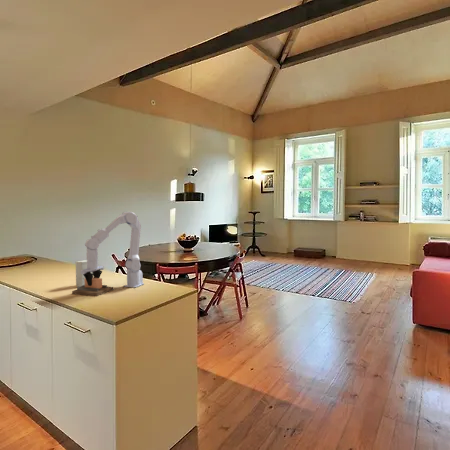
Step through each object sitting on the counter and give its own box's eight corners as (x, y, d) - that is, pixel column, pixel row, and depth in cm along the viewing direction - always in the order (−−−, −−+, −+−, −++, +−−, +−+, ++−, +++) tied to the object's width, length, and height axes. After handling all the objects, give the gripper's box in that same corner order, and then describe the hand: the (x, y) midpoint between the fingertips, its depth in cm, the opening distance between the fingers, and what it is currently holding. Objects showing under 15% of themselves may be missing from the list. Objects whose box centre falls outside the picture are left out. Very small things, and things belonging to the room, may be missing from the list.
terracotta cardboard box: (90, 285, 187) (90, 277, 187) (102, 287, 184) (101, 278, 183) (84, 287, 184) (84, 278, 183) (96, 289, 180) (96, 280, 180)
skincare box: (82, 287, 194) (81, 262, 193) (75, 286, 197) (74, 261, 196) (94, 284, 201) (93, 260, 200) (87, 283, 204) (86, 259, 203)
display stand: (90, 287, 193) (89, 282, 193) (113, 289, 188) (113, 284, 188) (72, 293, 180) (72, 288, 179) (96, 296, 175) (96, 290, 175)
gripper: (87, 262, 175) (87, 288, 175) (107, 258, 188) (108, 282, 188) (77, 262, 178) (78, 286, 178) (98, 258, 191) (99, 281, 191)
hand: (93, 284), depth 184 cm, fingers closed on terracotta cardboard box, 4 cm apart
